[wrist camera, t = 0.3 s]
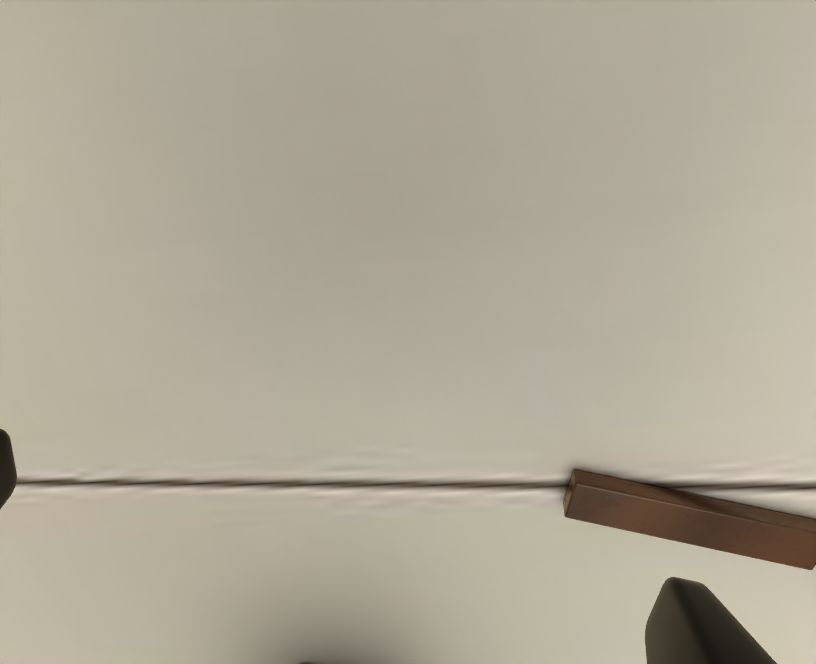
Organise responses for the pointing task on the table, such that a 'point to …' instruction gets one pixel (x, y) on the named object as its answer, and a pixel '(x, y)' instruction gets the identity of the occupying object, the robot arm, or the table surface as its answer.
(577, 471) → the wooden spoon
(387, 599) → the table surface
